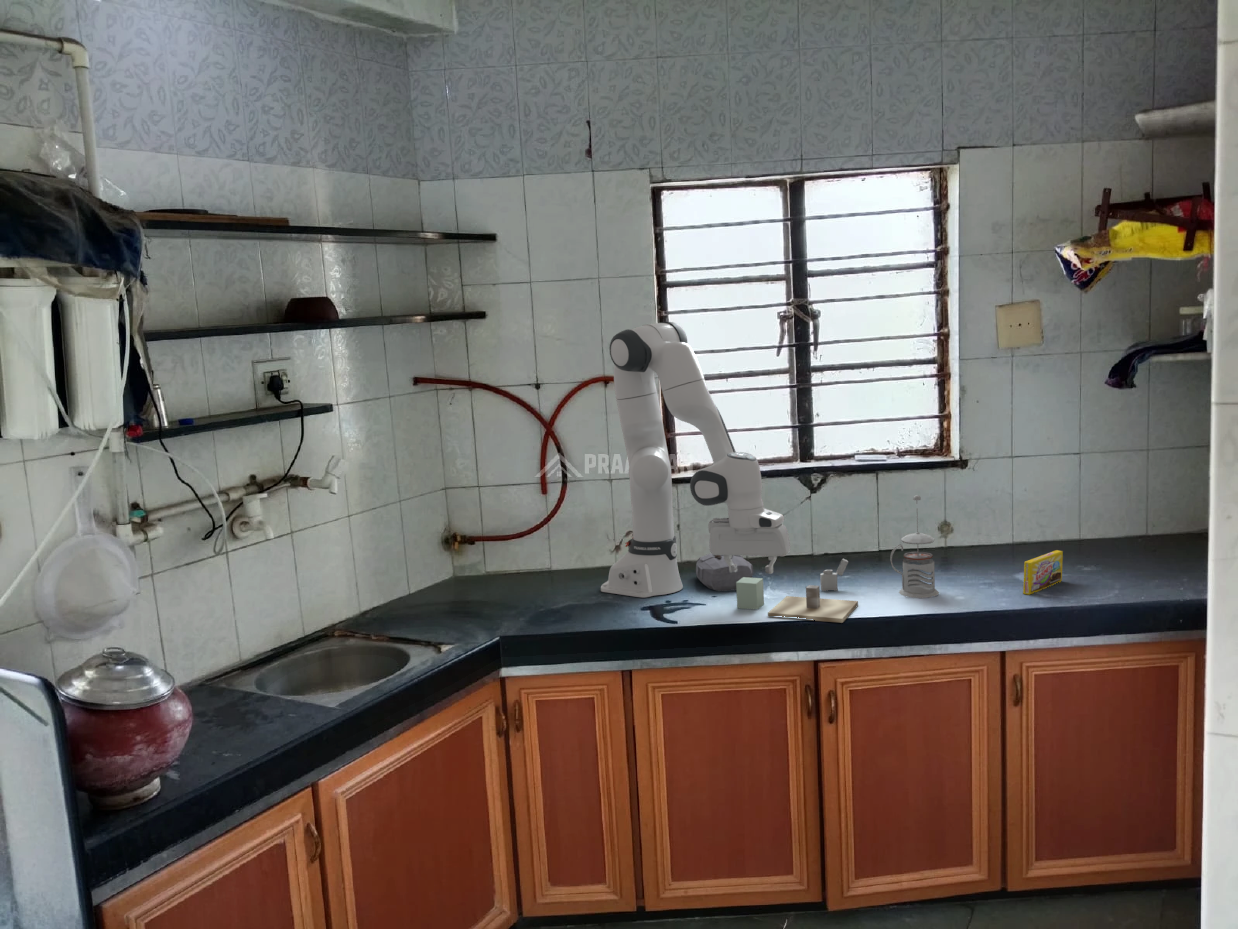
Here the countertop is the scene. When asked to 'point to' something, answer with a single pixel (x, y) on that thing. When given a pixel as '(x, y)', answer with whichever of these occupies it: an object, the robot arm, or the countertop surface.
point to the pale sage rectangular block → (750, 593)
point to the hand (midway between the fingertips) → (751, 572)
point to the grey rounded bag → (721, 571)
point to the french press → (917, 567)
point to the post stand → (814, 607)
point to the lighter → (832, 577)
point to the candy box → (1042, 572)
